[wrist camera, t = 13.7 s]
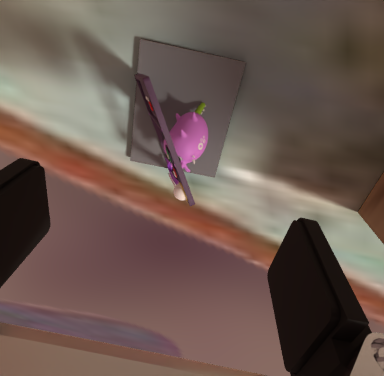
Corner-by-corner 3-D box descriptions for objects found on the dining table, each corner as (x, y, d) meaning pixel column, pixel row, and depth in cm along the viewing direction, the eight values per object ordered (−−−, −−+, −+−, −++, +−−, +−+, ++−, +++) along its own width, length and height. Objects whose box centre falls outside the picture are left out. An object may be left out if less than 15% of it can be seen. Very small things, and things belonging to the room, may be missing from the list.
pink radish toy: (130, 83, 15) (181, 211, 19) (215, 51, 15) (246, 183, 19) (124, 78, 21) (164, 176, 25) (186, 55, 21) (215, 156, 25)
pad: (245, 61, 20) (245, 62, 20) (214, 174, 25) (214, 177, 25) (141, 38, 20) (140, 39, 19) (131, 157, 25) (130, 160, 25)
